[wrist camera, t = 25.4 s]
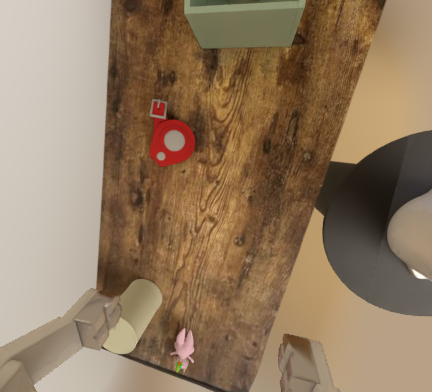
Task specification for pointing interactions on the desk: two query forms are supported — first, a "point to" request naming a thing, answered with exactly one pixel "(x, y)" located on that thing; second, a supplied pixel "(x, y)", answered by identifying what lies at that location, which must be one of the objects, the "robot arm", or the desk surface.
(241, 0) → the paper cup
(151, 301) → the can
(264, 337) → the desk surface
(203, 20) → the bin
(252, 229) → the desk surface
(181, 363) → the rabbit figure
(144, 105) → the desk surface
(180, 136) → the red flat rounded piece
